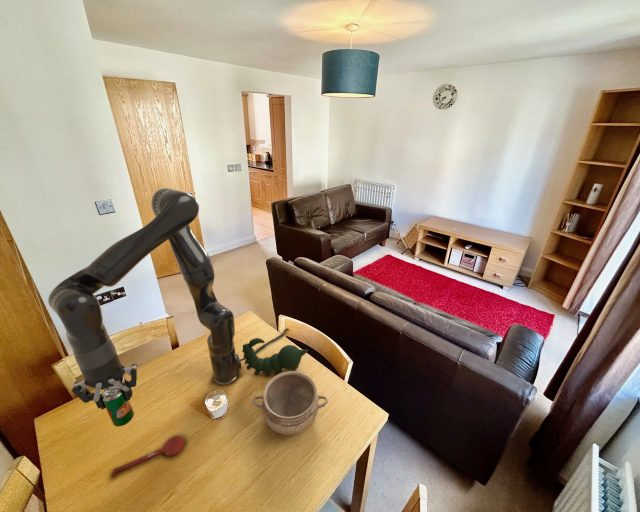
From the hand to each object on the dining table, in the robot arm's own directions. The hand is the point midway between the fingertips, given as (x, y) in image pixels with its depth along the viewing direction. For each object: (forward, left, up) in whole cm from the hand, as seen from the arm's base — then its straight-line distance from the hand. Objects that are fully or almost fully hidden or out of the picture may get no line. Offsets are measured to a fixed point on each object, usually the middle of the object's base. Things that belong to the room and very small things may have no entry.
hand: (116, 401), depth 75 cm
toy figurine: (-49, -8, -21) cm, 54 cm away
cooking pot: (-46, +13, -21) cm, 52 cm away
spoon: (-4, +5, -21) cm, 22 cm away
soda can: (0, 0, -8) cm, 8 cm away
